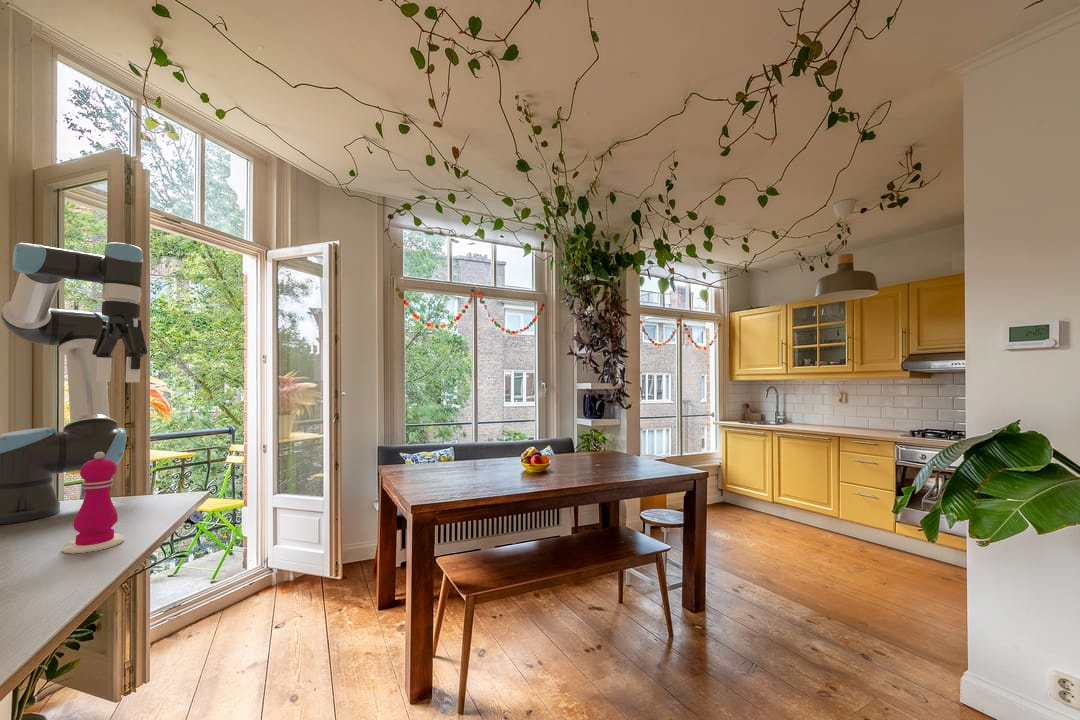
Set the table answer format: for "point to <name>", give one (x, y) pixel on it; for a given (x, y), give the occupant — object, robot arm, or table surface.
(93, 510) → the pepper mill
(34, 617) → the table surface
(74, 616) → the table surface
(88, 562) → the table surface
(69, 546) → the cream dome
